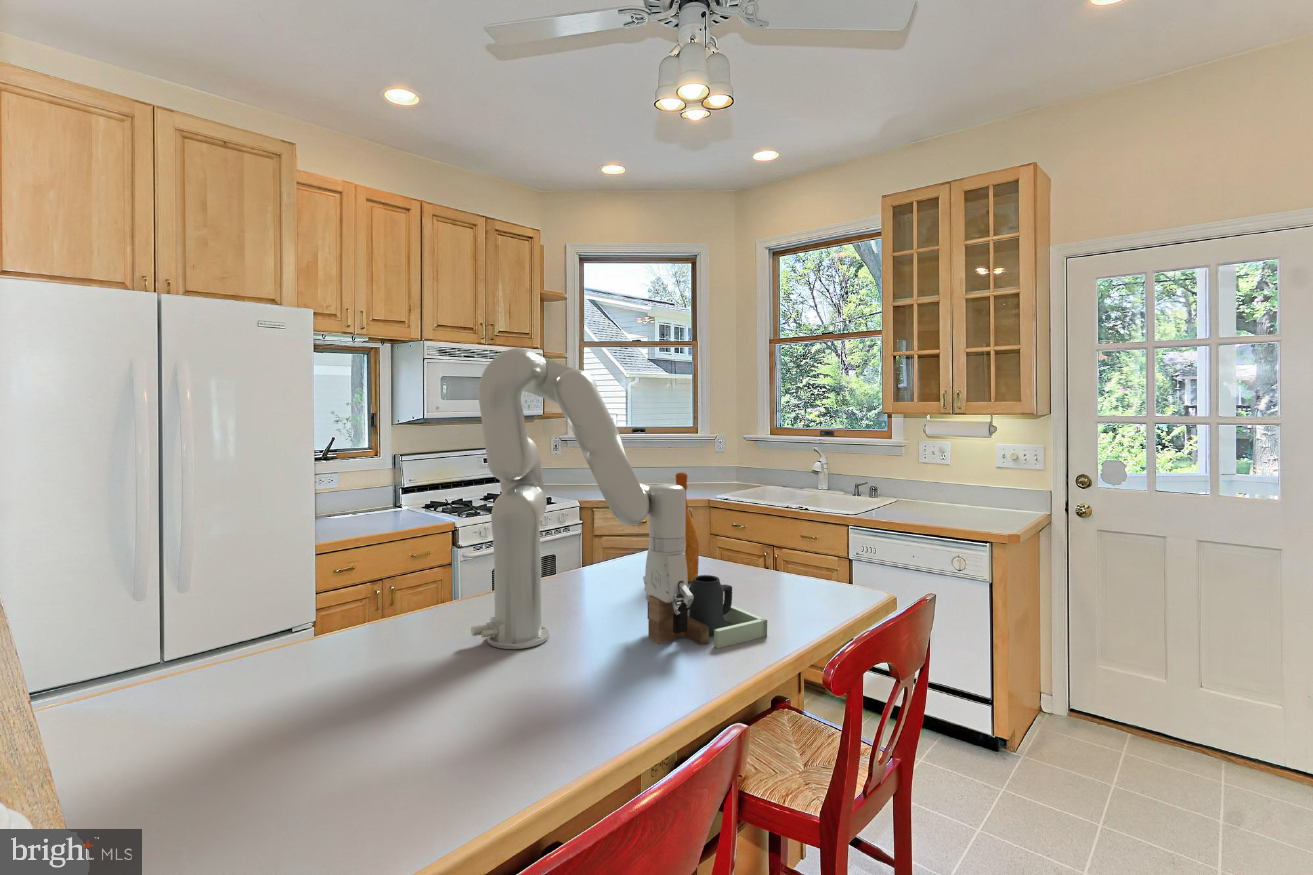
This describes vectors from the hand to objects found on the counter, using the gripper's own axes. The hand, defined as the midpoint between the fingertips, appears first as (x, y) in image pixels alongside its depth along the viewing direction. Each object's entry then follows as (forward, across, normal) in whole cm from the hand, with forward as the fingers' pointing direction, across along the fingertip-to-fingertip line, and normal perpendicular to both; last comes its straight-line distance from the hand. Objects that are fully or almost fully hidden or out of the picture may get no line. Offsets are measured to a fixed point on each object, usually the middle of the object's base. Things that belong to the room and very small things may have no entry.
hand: (666, 625), depth 137 cm
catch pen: (+3, 0, +12) cm, 12 cm away
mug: (+3, 0, +12) cm, 12 cm away
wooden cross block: (+3, 0, +1) cm, 3 cm away
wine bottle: (+3, -36, +28) cm, 46 cm away
